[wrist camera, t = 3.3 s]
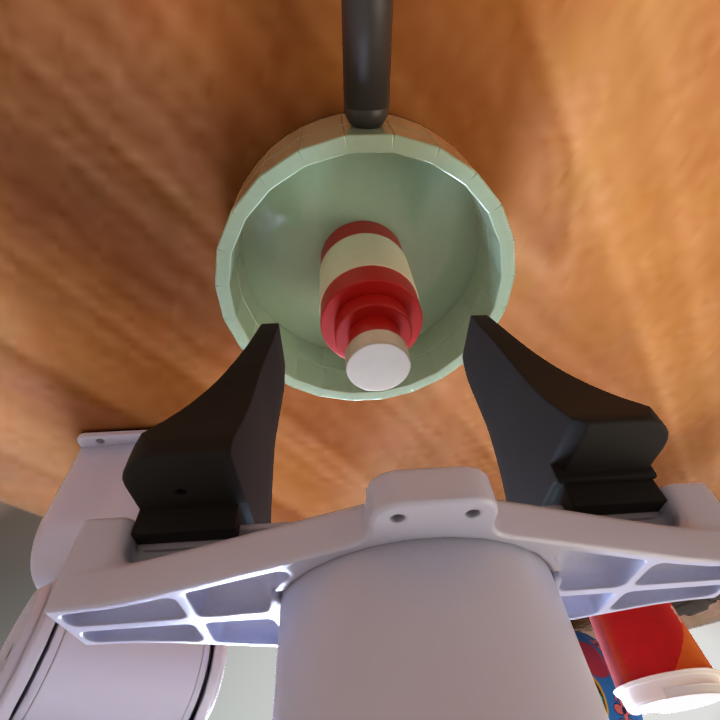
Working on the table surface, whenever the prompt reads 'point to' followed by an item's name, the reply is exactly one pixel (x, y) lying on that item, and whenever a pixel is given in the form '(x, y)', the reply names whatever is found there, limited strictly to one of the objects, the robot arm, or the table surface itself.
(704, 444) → the table surface
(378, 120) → the pan handle
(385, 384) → the sauce bottle
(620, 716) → the ceramic pot
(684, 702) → the paper cup
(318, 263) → the pan
